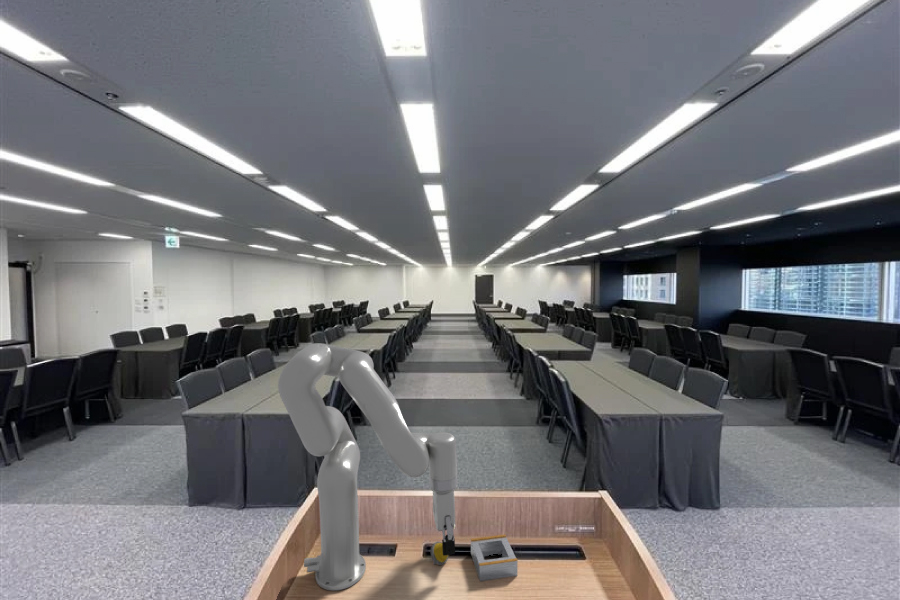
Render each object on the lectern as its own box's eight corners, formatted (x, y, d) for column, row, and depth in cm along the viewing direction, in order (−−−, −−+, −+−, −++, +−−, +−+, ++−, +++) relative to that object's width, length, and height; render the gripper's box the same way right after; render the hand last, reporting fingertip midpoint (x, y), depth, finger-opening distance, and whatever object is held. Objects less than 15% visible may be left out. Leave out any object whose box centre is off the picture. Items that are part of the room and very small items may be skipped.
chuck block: (479, 581, 99) (479, 564, 98) (470, 553, 109) (470, 538, 108) (517, 575, 100) (517, 559, 100) (505, 548, 110) (505, 534, 110)
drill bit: (440, 551, 110) (463, 537, 106) (438, 572, 105) (462, 558, 101) (425, 543, 109) (447, 528, 105) (422, 564, 104) (445, 549, 100)
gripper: (425, 466, 112) (428, 523, 113) (433, 500, 95) (436, 567, 96) (451, 463, 113) (453, 519, 115) (463, 496, 96) (466, 562, 98)
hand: (445, 541), depth 105 cm, fingers open, 9 cm apart
